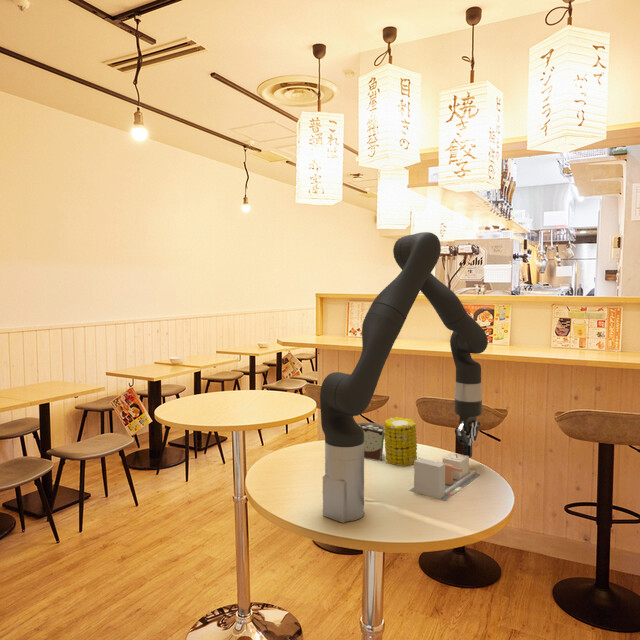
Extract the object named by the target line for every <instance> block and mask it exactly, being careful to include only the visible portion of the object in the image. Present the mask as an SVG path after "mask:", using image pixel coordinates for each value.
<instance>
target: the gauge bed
mask: <svg viewBox="0 0 640 640" xmlns="http://www.w3.org/2000/svg"><path fill="white" fill-rule="evenodd" d="M413 469H414V470H413V486H414V487H412V488H410V489H408V491H409V492H413V493H416V494H418V495H422V496H427V497H429V498H433V499H437V500H440V501H444V502H446V501H448V499H450V498H452V497H453V496H455V495H456V494H457V493H459V491H461V490H462V489H464V488H465V487H467V486H468V485H469V484H470V483H471V482H473V481H475V479H477V478H478V477H480V476H481V474H480V473H477V470H474V469H473V470H472V471H469V474H467V475H466V476H465V477H463V478H462V479H460V480H456V479H453V485H448V484H445V464H444V463H443V462H441V463H440V461H434V460H430V459H426V458H421V457H419V458H417V460H415V461H414V464H413Z"/></svg>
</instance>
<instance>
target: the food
mask: <svg viewBox="0 0 640 640" xmlns="http://www.w3.org/2000/svg"><path fill="white" fill-rule="evenodd" d="M383 426H384V428H385V437H384V449H385V464H392V465H395V466H400V467H401V466H412V465H414V461H415V460H417V459H418V456H417V455H418V452H417V450H418V445H417V442H418V440H417V430H416V429H417V427H416V426H417V423H416V421H415V420H413V419H412V418H404V417H399V416H394V417H389V418H386V420H385V421H384V425H383Z"/></svg>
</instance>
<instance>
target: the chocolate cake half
mask: <svg viewBox="0 0 640 640" xmlns="http://www.w3.org/2000/svg"><path fill="white" fill-rule="evenodd" d="M356 423H357V424H358V425H359V426H360V427H361V428H362V429H363V431H364V459H366V460H372V461H378V462H381V461H382V459H383V452H384V451H383V450H384V443H385V428H384V426H385V425H382V424H379V423H377V422H376V423H375V422H356Z"/></svg>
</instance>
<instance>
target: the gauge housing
mask: <svg viewBox="0 0 640 640" xmlns="http://www.w3.org/2000/svg"><path fill="white" fill-rule="evenodd" d="M442 463H446V464H450V465H453V467H456V468H460V469H462V472H460V471H455V470H453V479H456V480H460V479H462V478H463V477H465V476H466V475H467V474H469V472H470V465H469V464H470V458H469V456H466V455H463V454H460V453H456V452H451V453H449V454H447V455H445V456H444V457H442Z"/></svg>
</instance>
